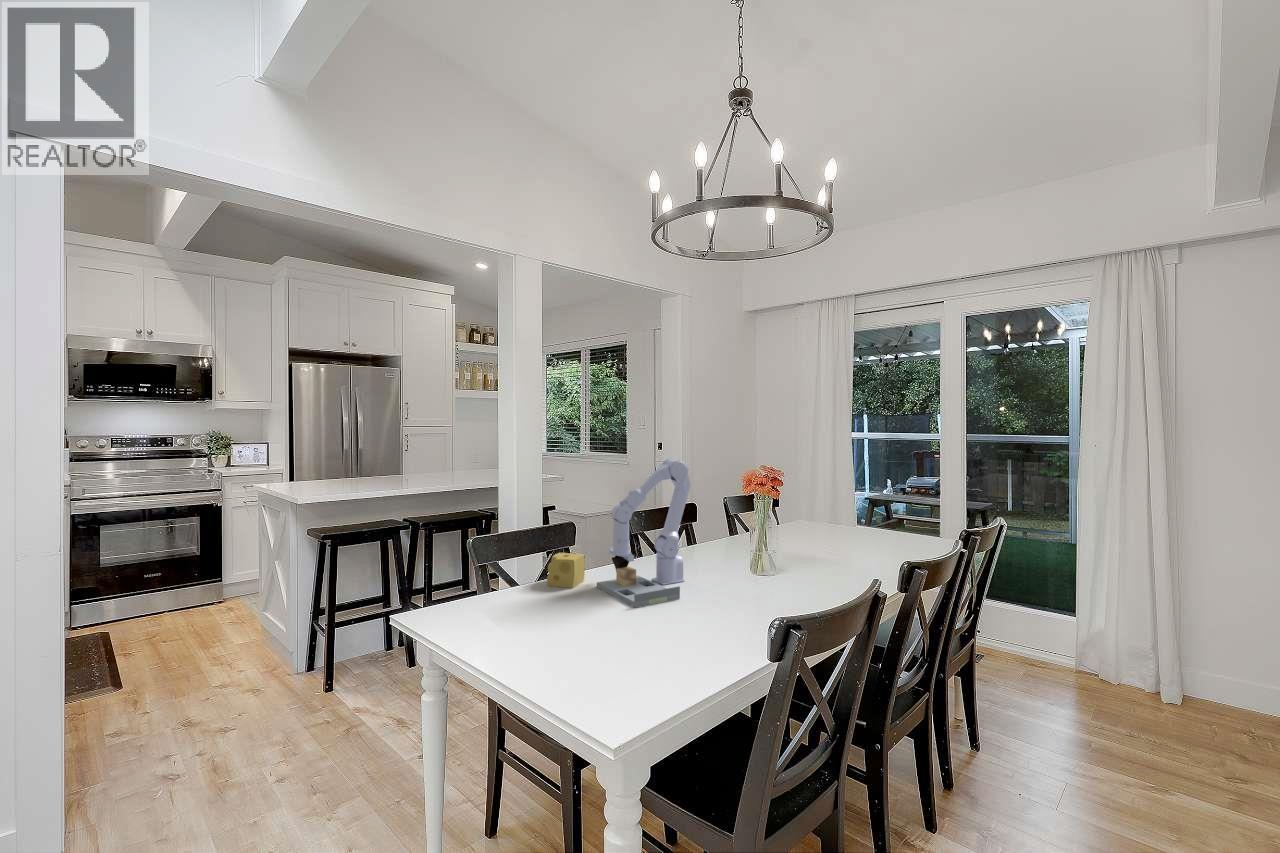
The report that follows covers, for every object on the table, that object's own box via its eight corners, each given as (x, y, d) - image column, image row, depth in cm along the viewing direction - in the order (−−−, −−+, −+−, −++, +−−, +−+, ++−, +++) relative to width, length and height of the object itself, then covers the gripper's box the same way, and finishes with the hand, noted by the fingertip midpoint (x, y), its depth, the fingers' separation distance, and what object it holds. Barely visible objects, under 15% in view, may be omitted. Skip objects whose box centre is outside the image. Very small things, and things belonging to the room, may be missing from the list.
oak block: (628, 580, 208) (628, 566, 207) (636, 584, 203) (636, 569, 203) (616, 582, 205) (616, 568, 205) (623, 586, 201) (623, 571, 201)
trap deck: (638, 579, 214) (638, 569, 214) (679, 598, 192) (679, 586, 192) (596, 586, 205) (596, 575, 205) (635, 607, 183) (635, 594, 183)
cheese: (546, 586, 206) (546, 557, 206) (559, 578, 216) (559, 551, 216) (574, 589, 203) (574, 560, 203) (586, 580, 213) (586, 553, 213)
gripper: (601, 536, 212) (601, 574, 212) (621, 544, 199) (621, 584, 200) (618, 534, 215) (618, 571, 216) (639, 542, 203) (639, 581, 203)
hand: (620, 577), depth 208 cm, fingers closed
